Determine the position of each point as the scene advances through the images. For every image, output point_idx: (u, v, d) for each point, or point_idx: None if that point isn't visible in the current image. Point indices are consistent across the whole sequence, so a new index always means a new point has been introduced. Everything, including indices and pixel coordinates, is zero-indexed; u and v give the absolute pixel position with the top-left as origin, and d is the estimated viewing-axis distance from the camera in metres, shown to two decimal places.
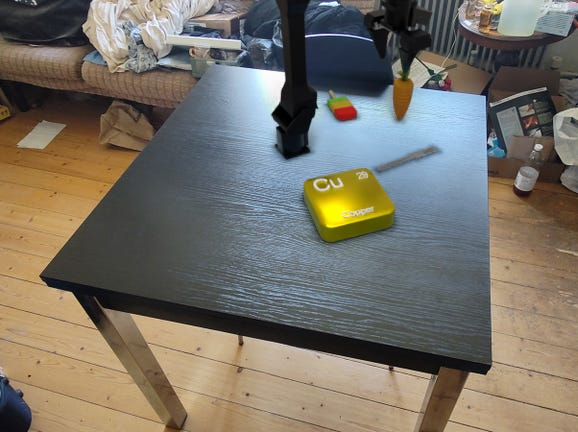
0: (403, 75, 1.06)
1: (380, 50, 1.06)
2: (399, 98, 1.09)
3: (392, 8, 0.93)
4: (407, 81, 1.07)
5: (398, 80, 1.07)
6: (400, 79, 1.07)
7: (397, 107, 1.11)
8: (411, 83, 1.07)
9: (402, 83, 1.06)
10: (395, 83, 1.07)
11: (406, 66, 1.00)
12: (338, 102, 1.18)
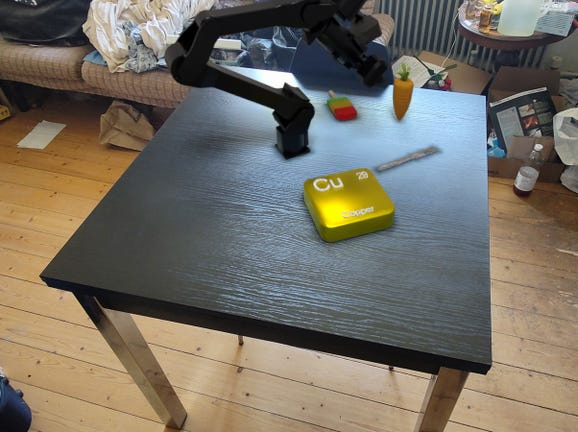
0: (403, 75, 1.06)
1: (359, 68, 1.05)
2: (399, 98, 1.09)
3: (334, 56, 0.92)
4: (407, 81, 1.07)
5: (398, 80, 1.07)
6: (400, 79, 1.07)
7: (397, 107, 1.11)
8: (411, 83, 1.07)
9: (402, 83, 1.06)
10: (395, 83, 1.07)
11: (382, 84, 0.98)
12: (338, 102, 1.18)
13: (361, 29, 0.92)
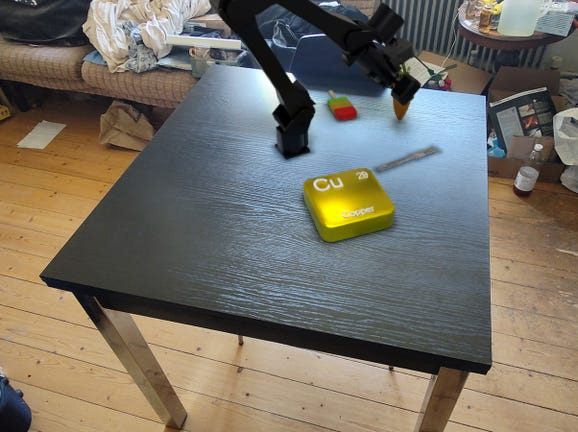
0: None
1: None
2: None
3: (371, 76, 1.00)
4: None
5: None
6: None
7: (397, 107, 1.11)
8: None
9: None
10: None
11: None
12: (338, 102, 1.18)
13: (396, 51, 1.00)
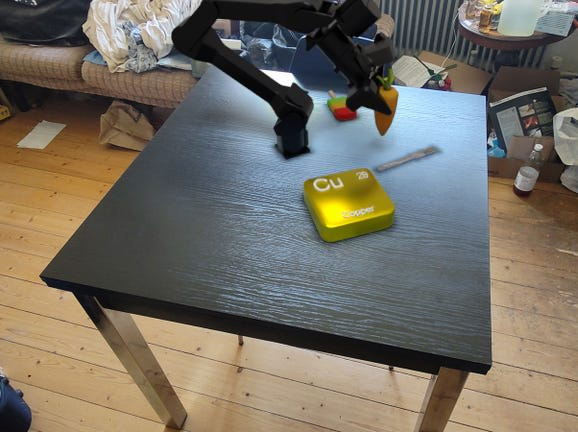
0: (384, 83, 0.89)
1: None
2: None
3: None
4: (387, 91, 0.90)
5: (380, 87, 0.91)
6: (383, 87, 0.91)
7: (375, 119, 0.95)
8: (391, 95, 0.89)
9: (380, 91, 0.90)
10: None
11: (382, 110, 0.90)
12: (338, 102, 1.18)
13: (370, 50, 0.85)
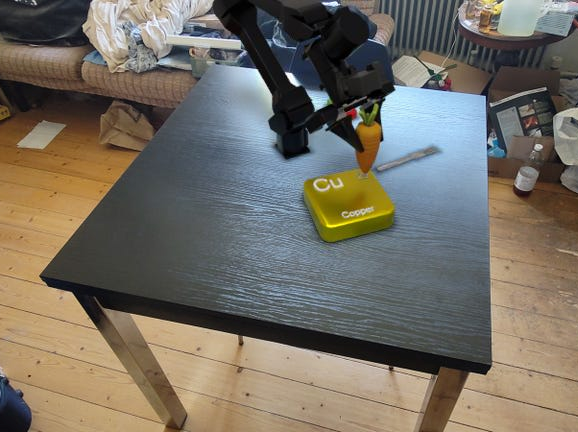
0: (365, 116, 0.80)
1: None
2: None
3: None
4: (365, 126, 0.80)
5: None
6: None
7: None
8: (366, 132, 0.79)
9: (359, 124, 0.80)
10: None
11: (352, 144, 0.81)
12: None
13: (351, 76, 0.76)
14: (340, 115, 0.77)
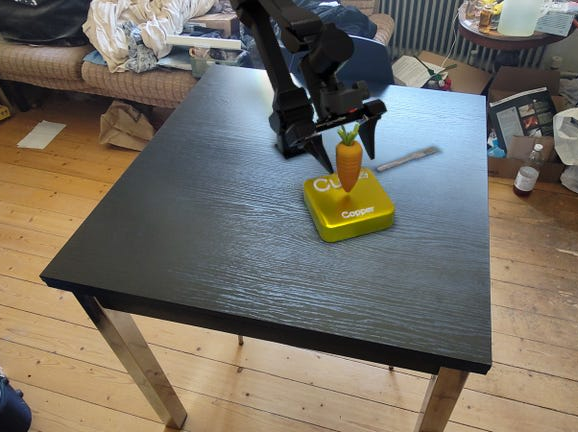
0: (345, 135, 0.78)
1: (366, 149, 0.82)
2: None
3: None
4: (344, 146, 0.78)
5: None
6: None
7: None
8: (344, 151, 0.77)
9: (340, 143, 0.79)
10: None
11: (323, 164, 0.79)
12: None
13: (334, 93, 0.75)
14: None
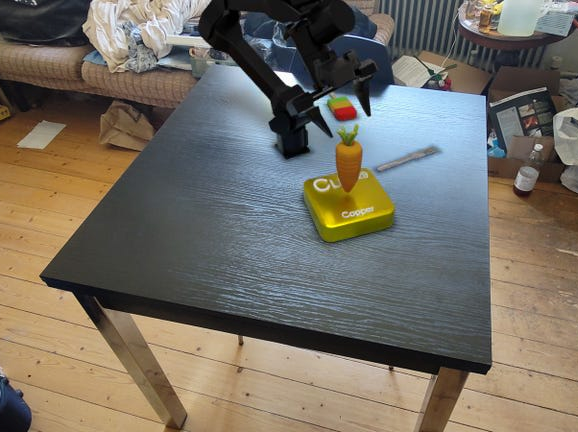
0: (345, 135, 0.78)
1: (362, 107, 0.90)
2: None
3: None
4: (344, 146, 0.78)
5: None
6: None
7: None
8: (344, 151, 0.77)
9: (340, 143, 0.79)
10: None
11: (323, 130, 0.87)
12: (338, 102, 1.18)
13: (327, 65, 0.80)
14: None
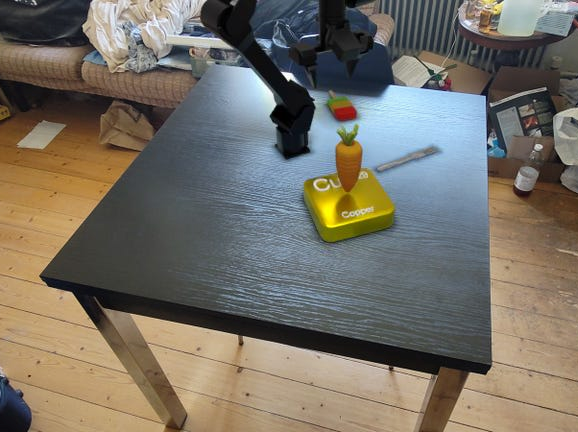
0: (345, 135, 0.78)
1: (347, 68, 1.02)
2: None
3: None
4: (344, 146, 0.78)
5: None
6: None
7: None
8: (344, 151, 0.77)
9: (339, 143, 0.79)
10: None
11: (310, 79, 0.99)
12: (338, 102, 1.18)
13: (340, 37, 0.90)
14: None
